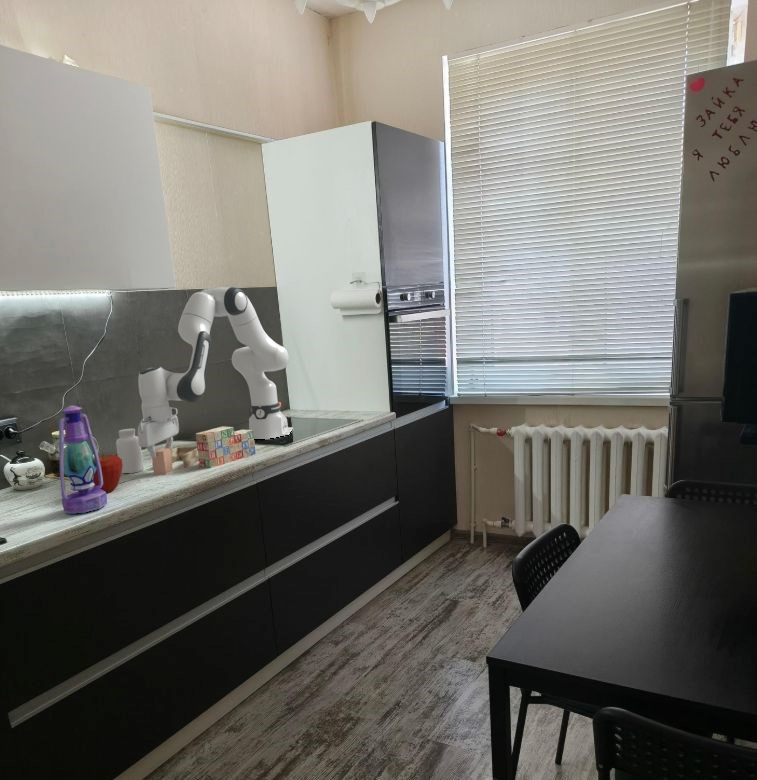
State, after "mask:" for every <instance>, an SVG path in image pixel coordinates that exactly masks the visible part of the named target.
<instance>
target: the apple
mask: <svg viewBox="0 0 757 780" xmlns="http://www.w3.org/2000/svg"><path fill="white" fill-rule="evenodd" d="M98 457H99V461H100V465H101V470H102V477H103V485H102V487H101V488H99V489H101V490H103V491H105V492H106V493H110V491H111V492H113V491H115V489H117V487H118V485H119V483H120V479H121V476H122V473H121V472H122V467H123V464H122V459H121V458H120V457H118V454H117V455H116V454H106V455H104V453H103V454H102V456H98ZM94 459H95V457H94ZM95 462H96V461H95ZM93 480H94V482H93V483H94V484H95V486H98V485H99V478H98V471H97V469H96V472H95V474H94V477H93ZM95 486H93V488H94V487H95Z"/></svg>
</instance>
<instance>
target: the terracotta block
mask: <svg viewBox="0 0 757 780" xmlns="http://www.w3.org/2000/svg"><path fill="white" fill-rule="evenodd" d="M155 451H157V454H158V456H157V457H155V458H152V457H151V460H152V469H153V475H154V474H159V475H168V474H169V472H170V473H172V472H174V470H173V463H172V460H171V452H170V448H167V449H165V448H157V449H155ZM167 473H168V474H167Z"/></svg>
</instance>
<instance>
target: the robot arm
mask: <svg viewBox="0 0 757 780" xmlns="http://www.w3.org/2000/svg"><path fill="white" fill-rule="evenodd" d="M250 300H251V299H249V298H248V296H247V294H246V293H245V292H244V290H242V289H241V288H239V287H234V286H233V287H228V286H227V287H225V286H219V287H213V288H203V289H200V290H198V291H197V292H194V293H192V295H190V297H189V299H188V301H187V302H186V304H185V306H184V309H183V310H182V313H181V316H180V319H179V323H178V326H177V332H178V334H179V336H180V338H181V340H183V341H184V342H186V343H187V344H188V345H190V346H192V354H191V357H190V362H189V367H188V370H187V371H185V372H184V373H183V372H181V373H179V372H171V371H169V370H166V369H164V368H163V367H162V366H160V365H152V366H148V367H145V368H143V369H141V370H140V371H139V374H138V393H139V396H140V399H141V405H140V406H141V412H142V413H141V414H142V419H141V420H140V422H139V423H138V426H137V437H138V442H139V445H140V447H141V448H146V449H147V451H148V452H149V454H150V458H151V459H152V458H155V457H157V456H158V454H157V451H155V450H156V449H155V448H156V444H158V443H161V442H162V441H166V444H165V446H164V449H167V448H170V450H171V449H173V441H174V436H177V435H178V434H179V432H180V426H179V418H178V416H177V415H178V414H179V413H178V408H176V407H171V406H170V402H169V401H179V402H180V401H181V402H182V401H183V402H187V403H195V402H199V401H200V400H201V399H202V398H203V396H204V395H205V393H206V391H207V389H206V388H207V372H208V367H209V364H210V363H209V361H210V357H211V350H212V343H213V342H212V337H211V334H210V333H211V328H212V325H213V322H214V318H215V317H220V318H222V317H228V321H229V323H230V325H231V328H232V330H233V333H234V335H235V337H236V339H237V341H238V342H239V343H241V344H242V345H245V346H244V347H240V348H237V349H235V350H233V353H232V355H231V363H232V367H233V368H234V369H235V370H236V371H238V372H239V373H240V374H241V375H242V376H243V378H244V379H245V381H246V383H247V386H248V390H249V396H250V402H251V405H250V413H251V416H250V417H249V418H248V425H249V426H248V427H249V429H248V430H253V435H254V439H265V440H271V439H270V438H274V439H277V438H276V437H279V438H281V437H280V436H284V437H286V436H285V435H289V434H290V432H291V431H292V429H293V430H294V427H292V426H291V427H290V426H288V425H289V424H288V419H287V417H286V416H285V415H284V414H283V413H282V412H281V407H282V403H281V401H278V400H279V399H278V392H277V385H276V384H275V383H274V381H272V380H270V379H269V378H268V377H267V376H266V374H265V372H277V371H280V370H284V369H286V368H287V365H288V363H289V360H290V356H289V352H288V351H287V349H286V348H285V347H284V346H282V345H281V344H278V343H277V342H276V341H274V340H273V339H272V338H271V337H270V336H269V335H268V334H267V333H266V332H265V330H264V328H263V326H262V324H261V322H260V319H259V317H258V315H257V312H256V309H255V307H254V305H253V304H252V302H251V301H250ZM292 432H293V431H292ZM292 432H291V433H292ZM290 435H291V434H290ZM290 435H289V436H290Z"/></svg>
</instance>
